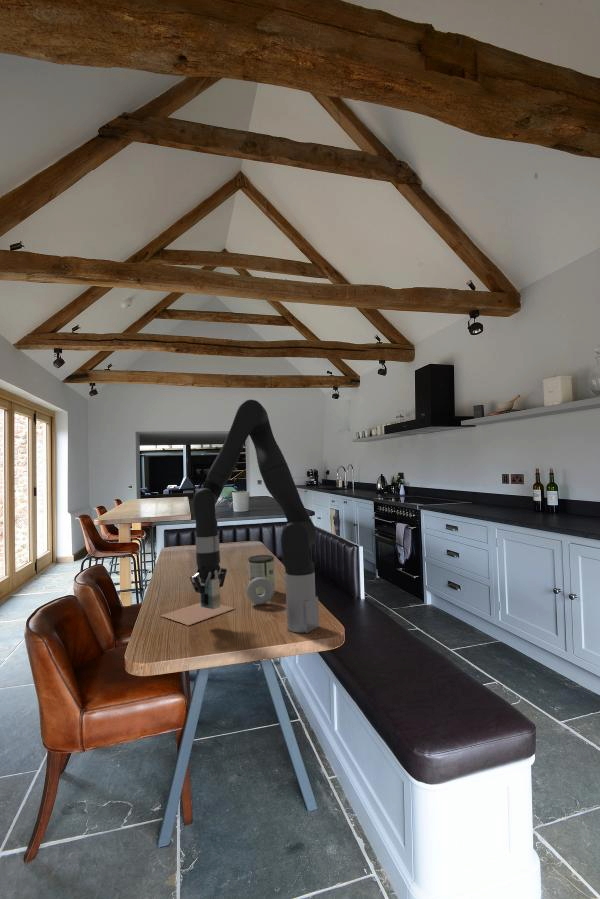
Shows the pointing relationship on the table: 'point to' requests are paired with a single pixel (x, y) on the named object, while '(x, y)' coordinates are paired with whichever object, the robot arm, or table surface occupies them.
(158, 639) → the table surface
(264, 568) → the coffee can
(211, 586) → the beige rectangular block
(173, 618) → the mat
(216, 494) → the robot arm
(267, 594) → the donut
